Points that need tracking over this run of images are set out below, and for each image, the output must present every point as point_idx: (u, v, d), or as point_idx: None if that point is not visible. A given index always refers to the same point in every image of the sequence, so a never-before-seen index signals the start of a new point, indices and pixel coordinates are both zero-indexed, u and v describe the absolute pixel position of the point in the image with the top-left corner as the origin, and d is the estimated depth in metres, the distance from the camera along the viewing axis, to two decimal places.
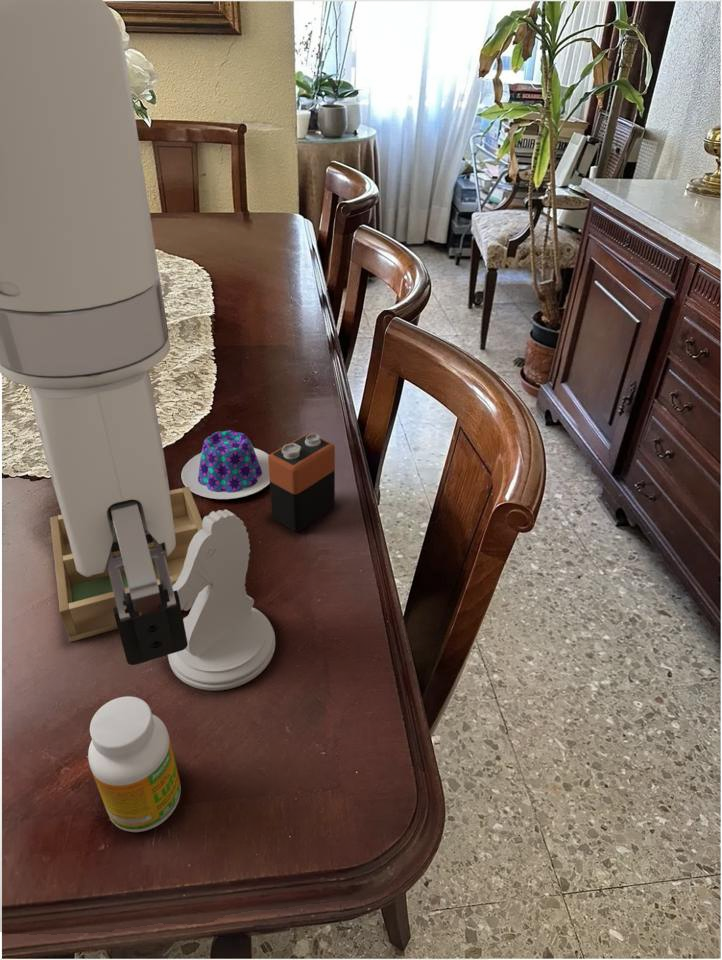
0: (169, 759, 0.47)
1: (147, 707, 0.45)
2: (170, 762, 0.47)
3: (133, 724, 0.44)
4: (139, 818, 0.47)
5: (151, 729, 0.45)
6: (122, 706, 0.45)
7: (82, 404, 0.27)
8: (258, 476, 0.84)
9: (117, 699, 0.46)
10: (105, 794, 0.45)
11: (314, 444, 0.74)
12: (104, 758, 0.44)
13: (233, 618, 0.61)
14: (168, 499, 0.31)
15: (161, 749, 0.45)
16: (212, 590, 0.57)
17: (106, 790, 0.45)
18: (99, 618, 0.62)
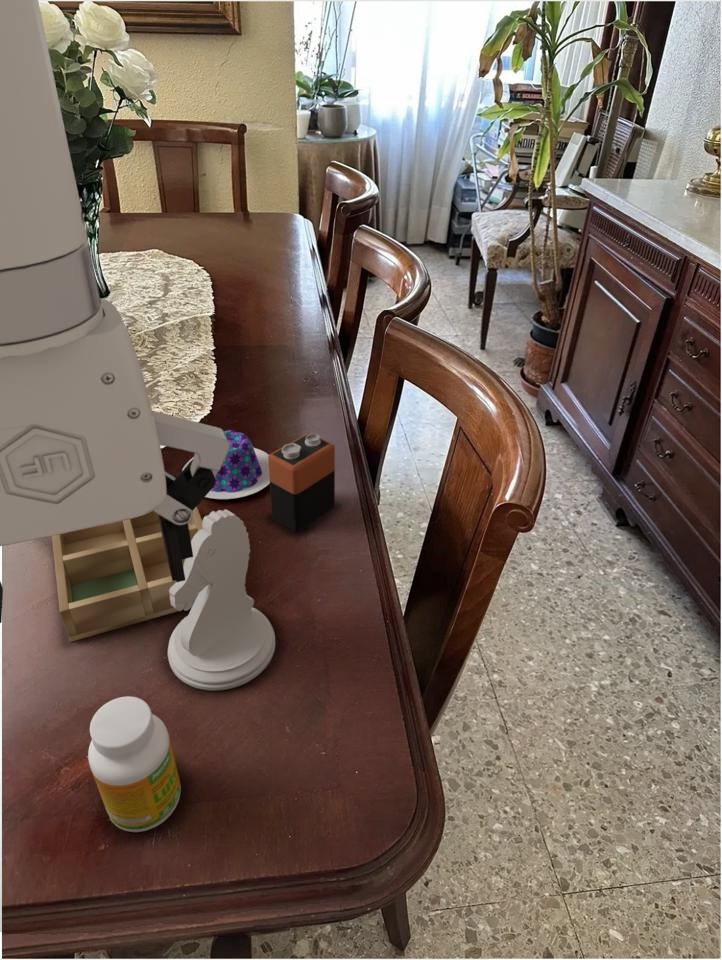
0: (169, 759, 0.47)
1: (147, 707, 0.45)
2: (170, 762, 0.47)
3: (133, 724, 0.44)
4: (139, 818, 0.47)
5: (151, 729, 0.45)
6: (122, 706, 0.45)
7: (123, 322, 0.29)
8: (258, 476, 0.84)
9: (117, 699, 0.46)
10: (105, 794, 0.45)
11: (314, 444, 0.74)
12: (104, 758, 0.44)
13: (233, 618, 0.61)
14: None
15: (161, 749, 0.45)
16: (212, 590, 0.57)
17: (106, 790, 0.45)
18: (99, 618, 0.62)
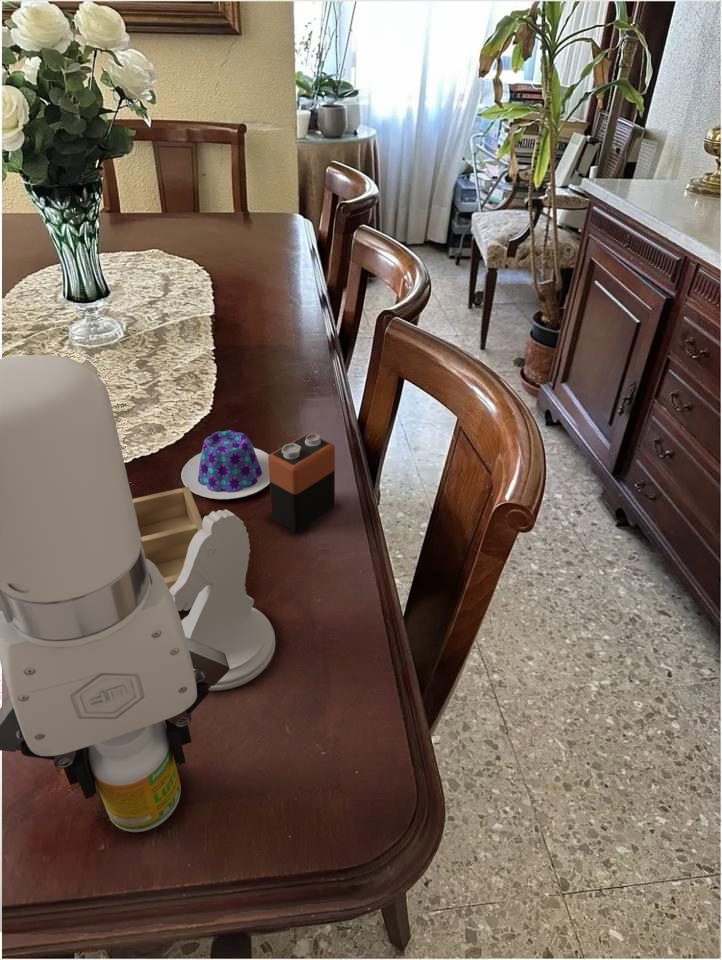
0: (169, 759, 0.47)
1: None
2: (170, 762, 0.47)
3: None
4: (139, 818, 0.47)
5: (151, 729, 0.45)
6: None
7: (166, 585, 0.39)
8: (258, 476, 0.84)
9: None
10: (105, 794, 0.45)
11: (314, 444, 0.74)
12: (104, 758, 0.44)
13: (233, 618, 0.61)
14: None
15: (161, 749, 0.45)
16: (212, 590, 0.57)
17: (106, 790, 0.45)
18: None
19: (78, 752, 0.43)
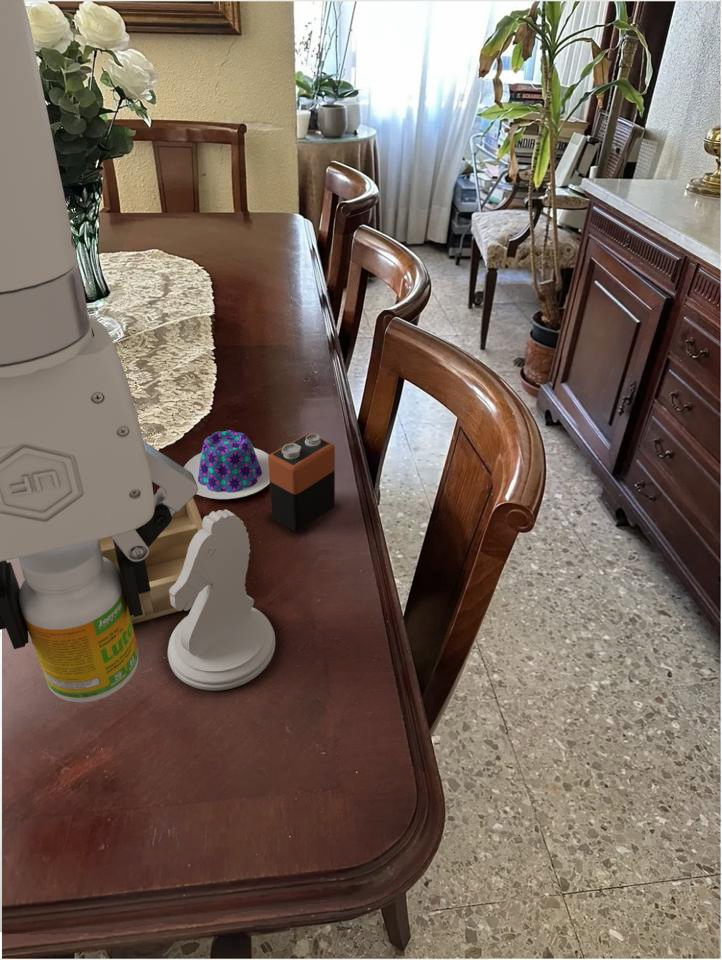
0: (122, 608, 0.38)
1: None
2: (123, 613, 0.38)
3: (75, 553, 0.35)
4: (83, 681, 0.37)
5: (98, 562, 0.36)
6: None
7: (112, 342, 0.30)
8: (258, 476, 0.84)
9: None
10: (39, 645, 0.36)
11: (314, 444, 0.74)
12: (37, 595, 0.35)
13: (233, 618, 0.61)
14: None
15: (111, 590, 0.36)
16: (212, 590, 0.57)
17: (40, 638, 0.36)
18: None
19: (3, 582, 0.34)
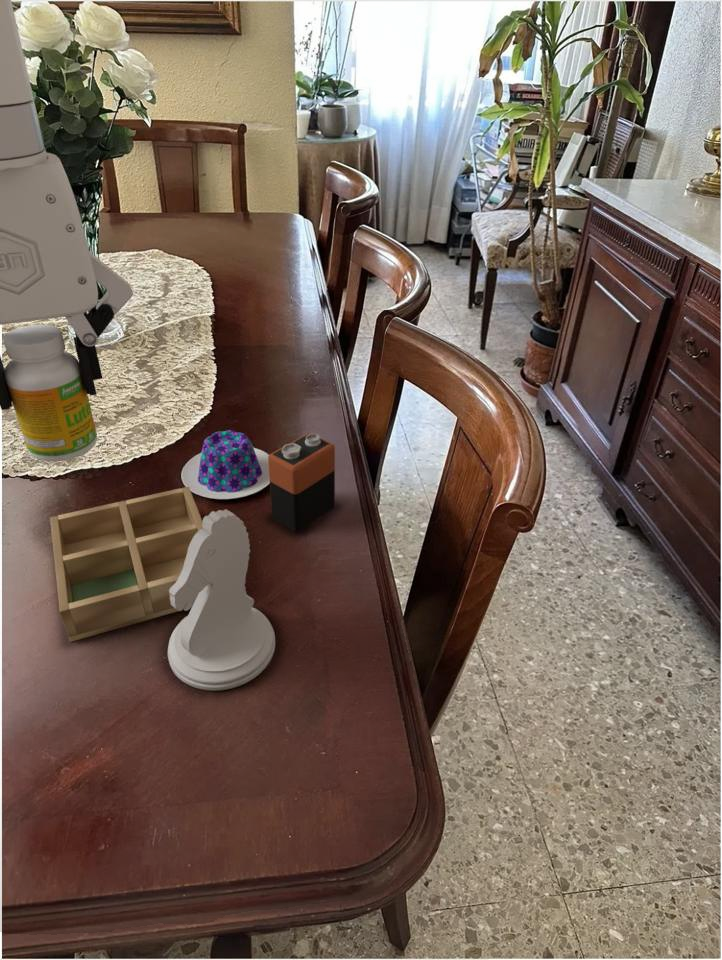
0: (80, 387, 0.51)
1: (58, 329, 0.50)
2: (82, 392, 0.51)
3: (43, 336, 0.48)
4: (53, 440, 0.51)
5: (60, 344, 0.49)
6: (35, 328, 0.50)
7: (61, 163, 0.43)
8: (258, 476, 0.84)
9: (31, 325, 0.50)
10: (19, 408, 0.50)
11: (314, 444, 0.74)
12: (17, 367, 0.49)
13: (233, 618, 0.61)
14: None
15: (71, 368, 0.50)
16: (212, 590, 0.57)
17: (20, 400, 0.49)
18: (99, 618, 0.62)
19: None
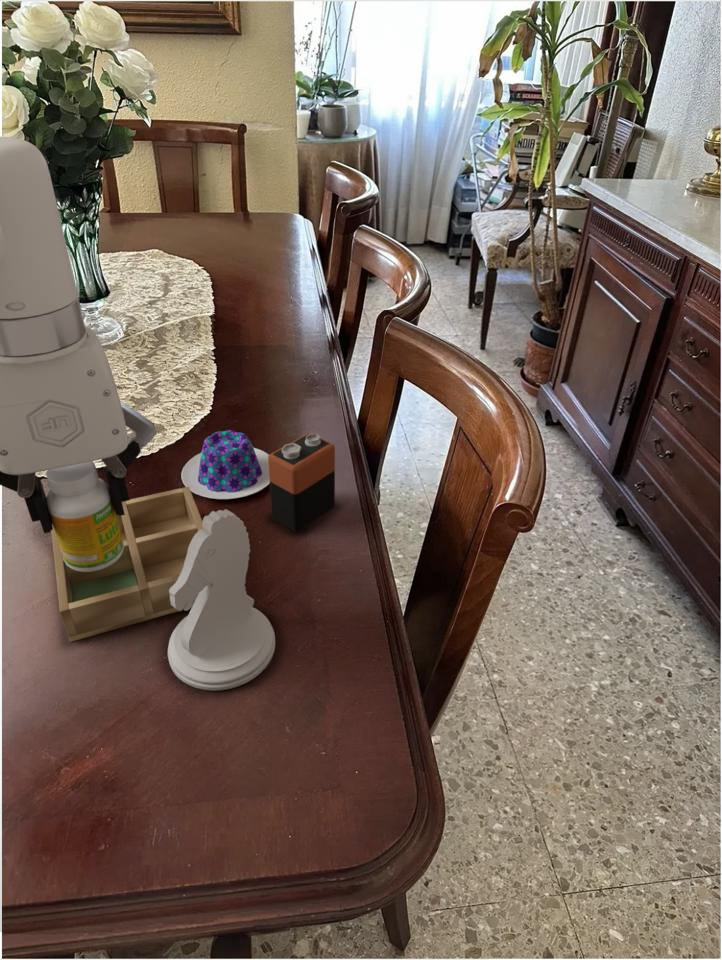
0: (111, 510, 0.59)
1: (92, 463, 0.58)
2: (112, 513, 0.59)
3: (80, 471, 0.57)
4: (87, 556, 0.59)
5: (95, 477, 0.57)
6: None
7: (99, 340, 0.51)
8: (258, 476, 0.84)
9: None
10: (59, 531, 0.58)
11: (314, 444, 0.74)
12: (58, 498, 0.57)
13: (233, 618, 0.61)
14: None
15: (103, 496, 0.58)
16: (212, 590, 0.57)
17: (60, 525, 0.57)
18: (99, 618, 0.62)
19: (37, 489, 0.56)
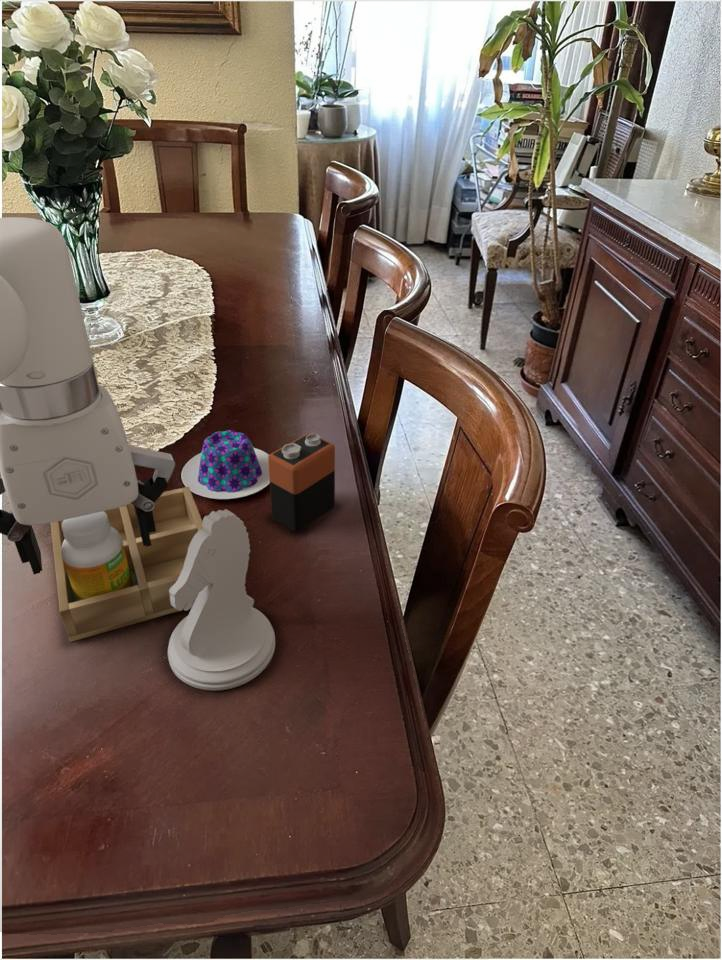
0: (122, 557, 0.62)
1: (105, 514, 0.61)
2: (123, 560, 0.63)
3: (94, 523, 0.60)
4: None
5: (107, 528, 0.60)
6: None
7: None
8: (258, 476, 0.84)
9: None
10: (73, 578, 0.61)
11: (314, 444, 0.74)
12: (72, 548, 0.60)
13: (233, 618, 0.61)
14: None
15: (115, 545, 0.61)
16: (212, 590, 0.57)
17: (74, 573, 0.60)
18: (99, 618, 0.62)
19: (26, 532, 0.57)
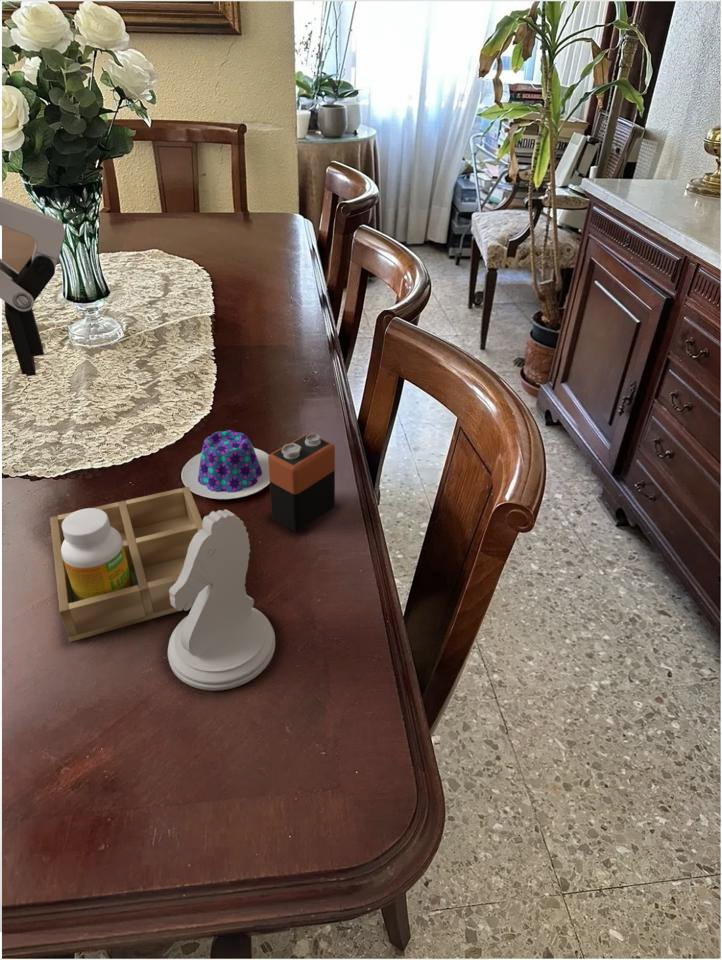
0: (122, 557, 0.62)
1: (105, 514, 0.61)
2: (123, 560, 0.63)
3: (94, 523, 0.60)
4: None
5: (107, 528, 0.60)
6: (86, 513, 0.61)
7: None
8: (258, 476, 0.84)
9: (83, 509, 0.61)
10: (73, 578, 0.61)
11: (314, 444, 0.74)
12: (72, 548, 0.60)
13: (233, 618, 0.61)
14: None
15: (115, 545, 0.61)
16: (212, 590, 0.57)
17: (74, 573, 0.60)
18: (99, 618, 0.62)
19: None
